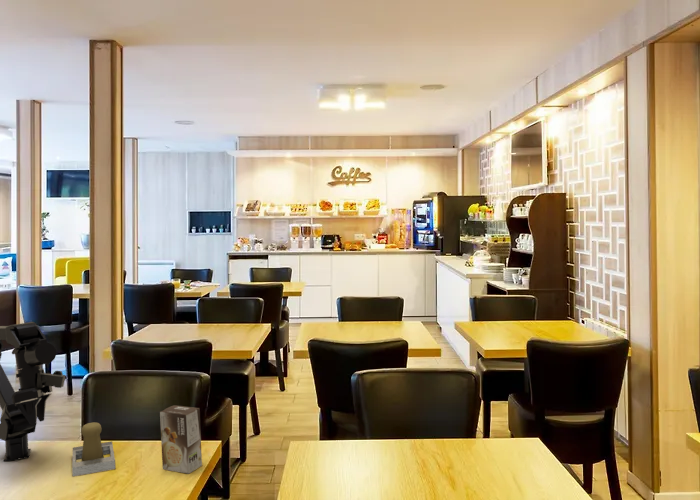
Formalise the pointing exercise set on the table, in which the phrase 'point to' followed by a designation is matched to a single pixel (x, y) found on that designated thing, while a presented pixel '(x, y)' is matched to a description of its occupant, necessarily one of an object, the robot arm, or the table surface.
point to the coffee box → (181, 439)
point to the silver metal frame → (93, 461)
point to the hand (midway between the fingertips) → (38, 423)
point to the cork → (92, 442)
